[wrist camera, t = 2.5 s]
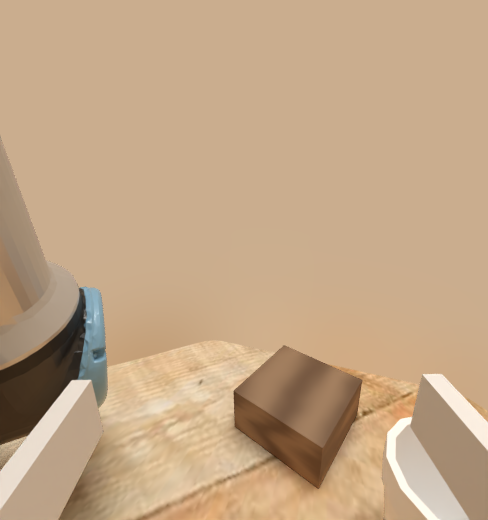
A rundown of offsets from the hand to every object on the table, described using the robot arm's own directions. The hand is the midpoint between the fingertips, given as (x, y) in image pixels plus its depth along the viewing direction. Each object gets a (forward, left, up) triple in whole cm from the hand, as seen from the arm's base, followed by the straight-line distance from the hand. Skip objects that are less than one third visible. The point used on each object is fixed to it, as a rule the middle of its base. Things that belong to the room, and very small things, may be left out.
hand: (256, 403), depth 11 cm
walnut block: (-8, +19, -24) cm, 32 cm away
